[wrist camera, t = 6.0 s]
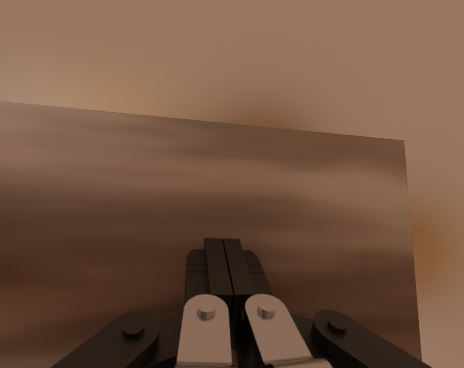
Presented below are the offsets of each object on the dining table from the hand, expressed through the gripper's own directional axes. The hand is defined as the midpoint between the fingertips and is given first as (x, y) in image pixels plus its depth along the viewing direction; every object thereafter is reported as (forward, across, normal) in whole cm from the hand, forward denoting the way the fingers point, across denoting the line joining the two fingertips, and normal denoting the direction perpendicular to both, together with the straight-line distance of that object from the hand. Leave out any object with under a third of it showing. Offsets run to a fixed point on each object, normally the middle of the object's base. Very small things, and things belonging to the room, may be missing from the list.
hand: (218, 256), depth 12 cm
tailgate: (-3, 0, +9) cm, 10 cm away
